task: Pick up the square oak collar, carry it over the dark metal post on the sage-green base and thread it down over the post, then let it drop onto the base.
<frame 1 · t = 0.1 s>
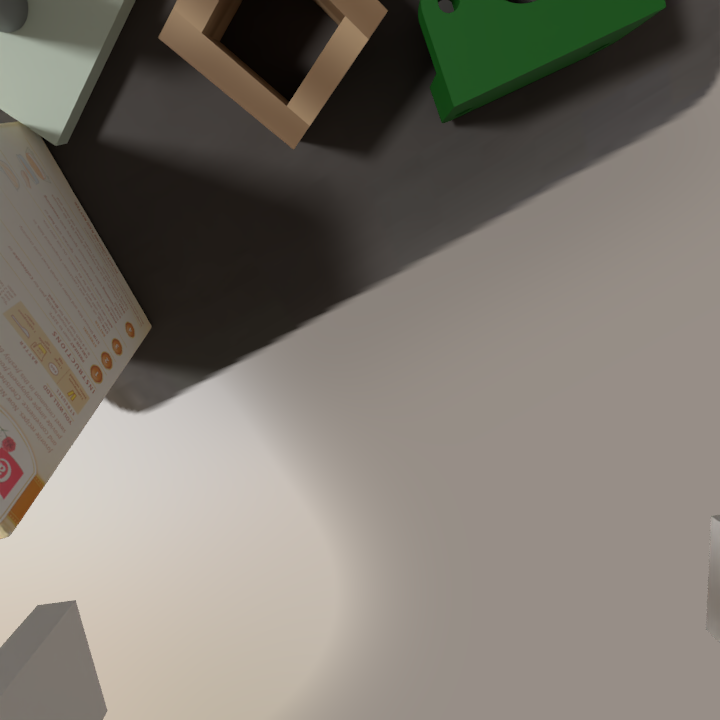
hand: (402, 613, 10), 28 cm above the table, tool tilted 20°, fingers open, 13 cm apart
collar: (280, 34, 27), on the table
coffeecake box: (56, 249, 32), on the table
post: (12, 1, 25), on the table
clamp: (505, 23, 28), on the table
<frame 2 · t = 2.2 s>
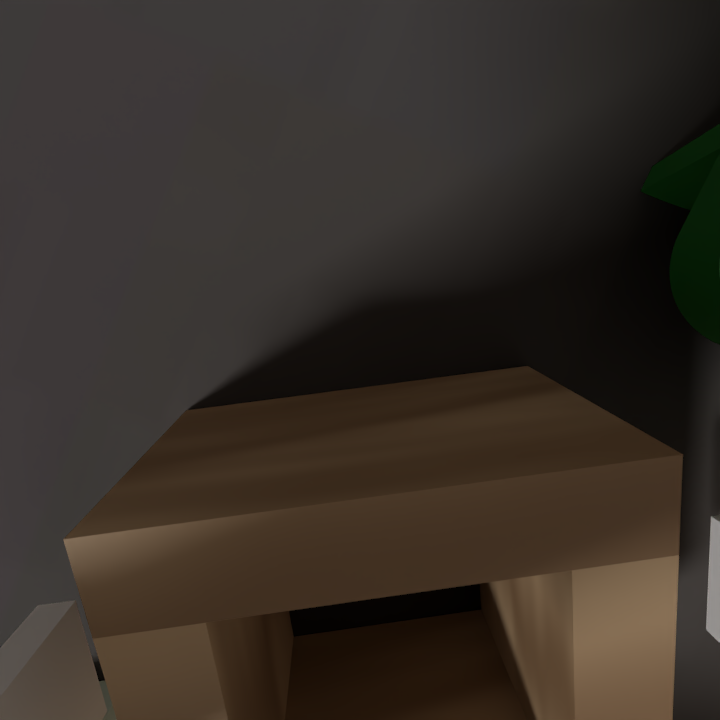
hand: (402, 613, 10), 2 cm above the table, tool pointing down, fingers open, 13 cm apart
collar: (377, 539, 12), on the table
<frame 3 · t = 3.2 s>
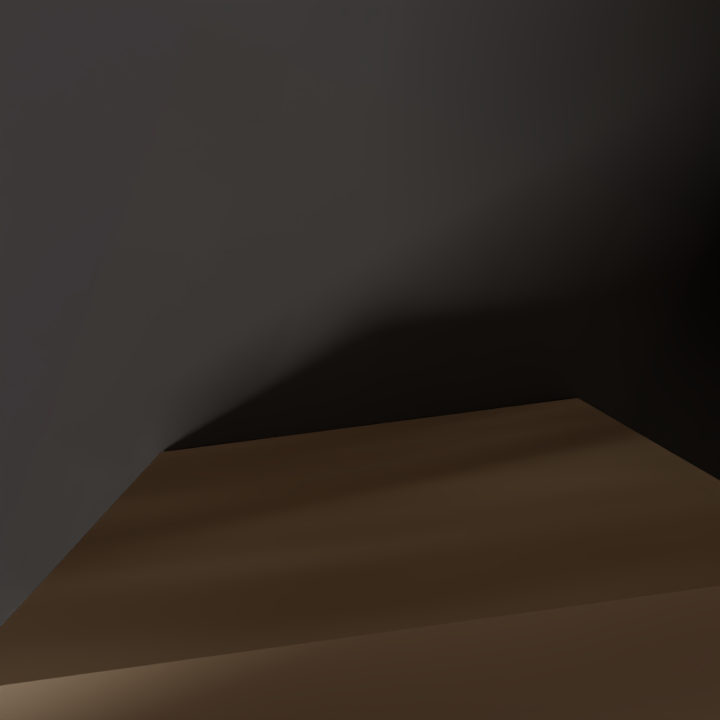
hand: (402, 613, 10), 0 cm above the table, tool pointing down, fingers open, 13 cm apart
collar: (392, 604, 10), on the table
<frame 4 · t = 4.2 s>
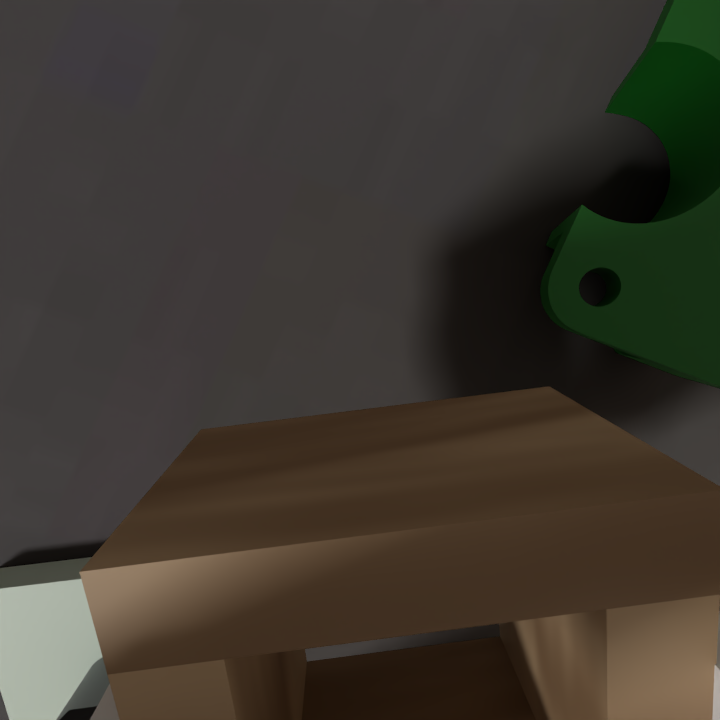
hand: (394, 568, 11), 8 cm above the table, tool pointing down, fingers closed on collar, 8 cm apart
collar: (393, 562, 11), point 8 cm above the table, touching gripper
post: (139, 655, 21), on the table
clamp: (632, 200, 18), on the table
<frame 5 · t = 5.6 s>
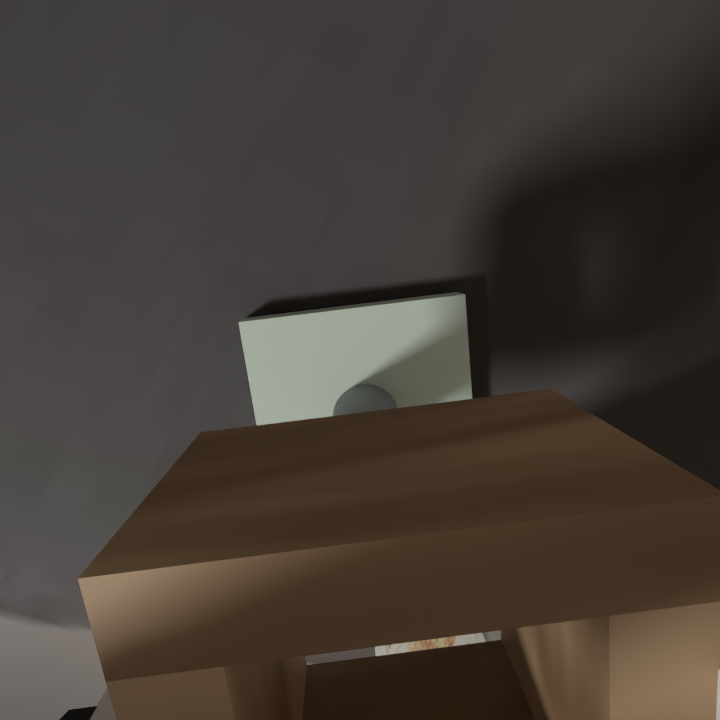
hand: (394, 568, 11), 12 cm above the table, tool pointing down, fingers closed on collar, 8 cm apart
collar: (394, 566, 11), point 12 cm above the table, touching gripper
coffeecake box: (513, 593, 26), on the table
post: (363, 405, 23), on the table
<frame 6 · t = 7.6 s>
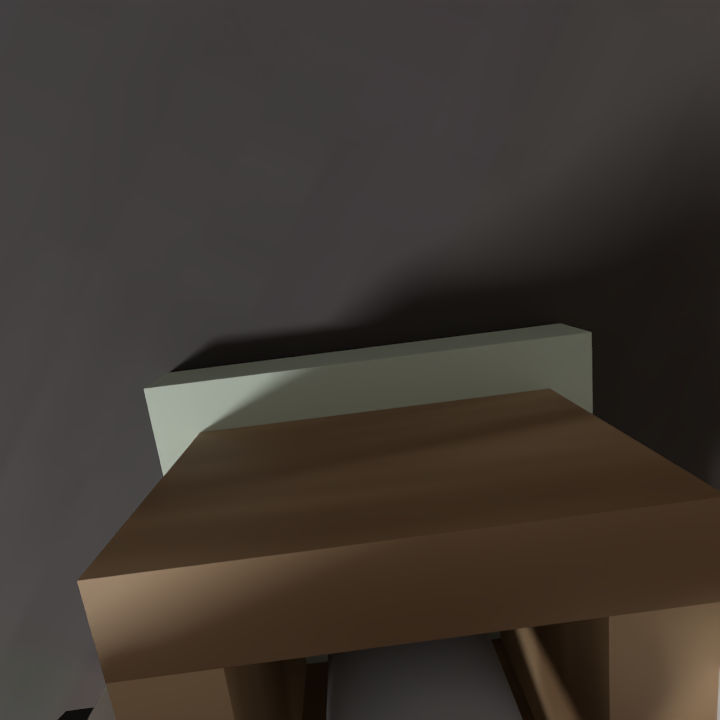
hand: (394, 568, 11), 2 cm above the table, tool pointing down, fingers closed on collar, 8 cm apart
collar: (393, 565, 11), point 2 cm above the table, touching gripper
post: (386, 524, 13), on the table
when the fingers open (2 cm above the table, at t = 7.6 s): collar stays where it is, resting on post.
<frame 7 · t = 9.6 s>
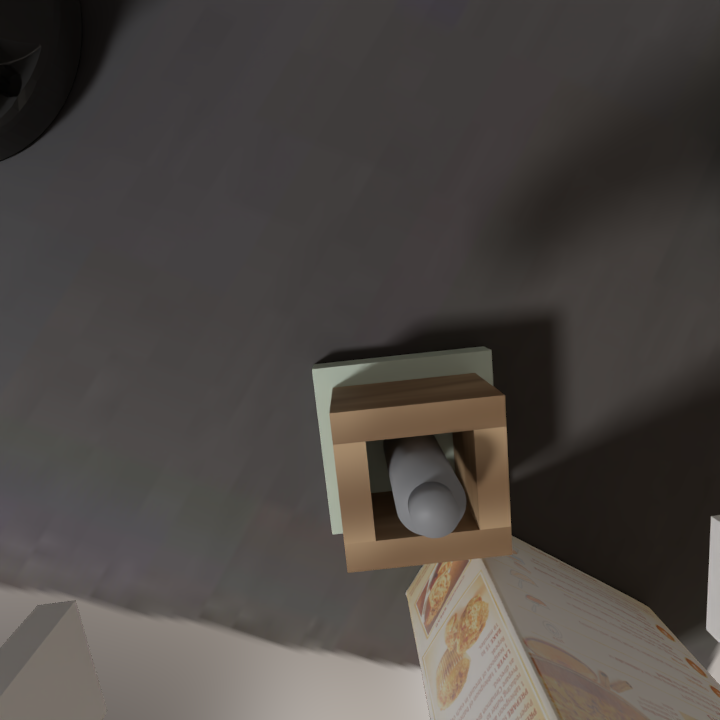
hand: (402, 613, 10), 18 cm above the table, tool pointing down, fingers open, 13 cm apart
collar: (409, 448, 27), point 1 cm above the table, touching post
coffeecake box: (527, 597, 31), on the table
post: (406, 436, 28), on the table
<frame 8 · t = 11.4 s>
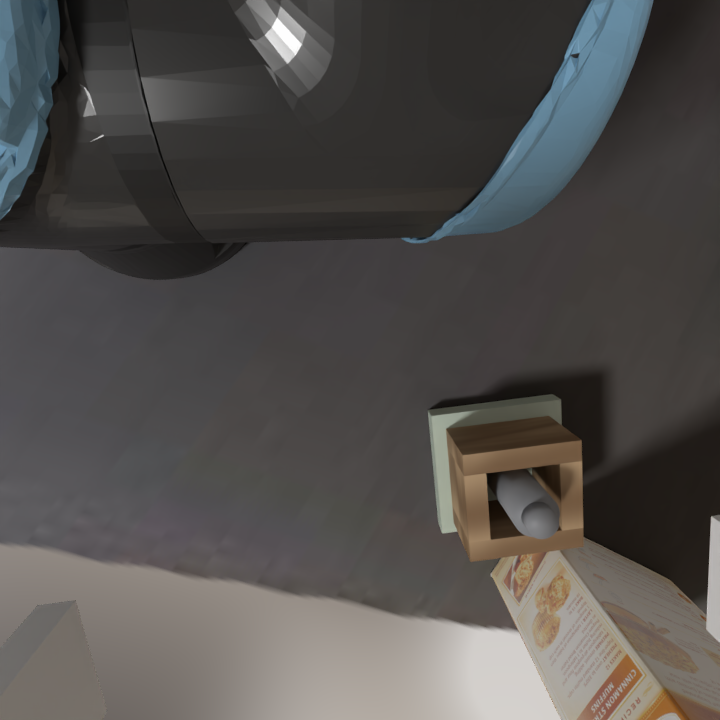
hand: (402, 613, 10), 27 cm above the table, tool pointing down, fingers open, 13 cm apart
collar: (500, 470, 37), point 1 cm above the table, touching post
coffeecake box: (579, 575, 41), on the table
post: (493, 460, 38), on the table
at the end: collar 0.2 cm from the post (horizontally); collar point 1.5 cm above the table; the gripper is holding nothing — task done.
